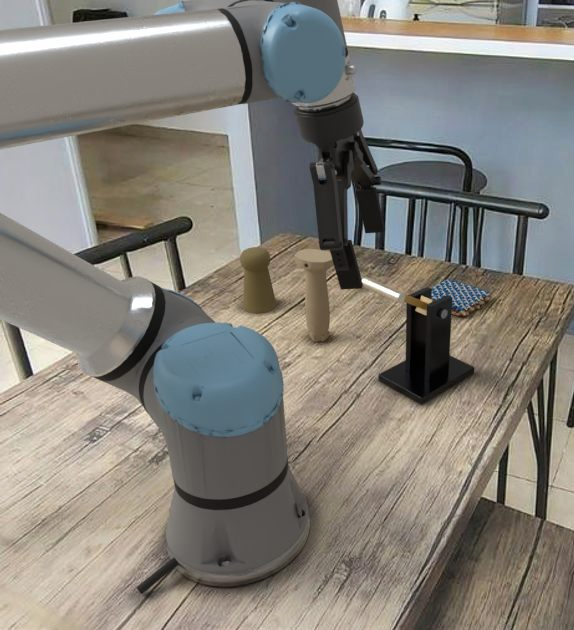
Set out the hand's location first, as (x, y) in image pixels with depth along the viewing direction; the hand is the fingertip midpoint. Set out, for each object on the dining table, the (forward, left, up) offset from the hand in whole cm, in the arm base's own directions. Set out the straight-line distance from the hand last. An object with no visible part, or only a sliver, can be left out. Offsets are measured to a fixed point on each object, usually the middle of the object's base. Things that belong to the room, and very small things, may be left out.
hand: (364, 258), depth 89 cm
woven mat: (+33, +11, -22) cm, 41 cm away
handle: (+6, +18, -22) cm, 29 cm away
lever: (+5, -3, -8) cm, 10 cm away
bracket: (+10, -3, -22) cm, 24 cm away
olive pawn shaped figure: (+6, +35, -22) cm, 42 cm away
